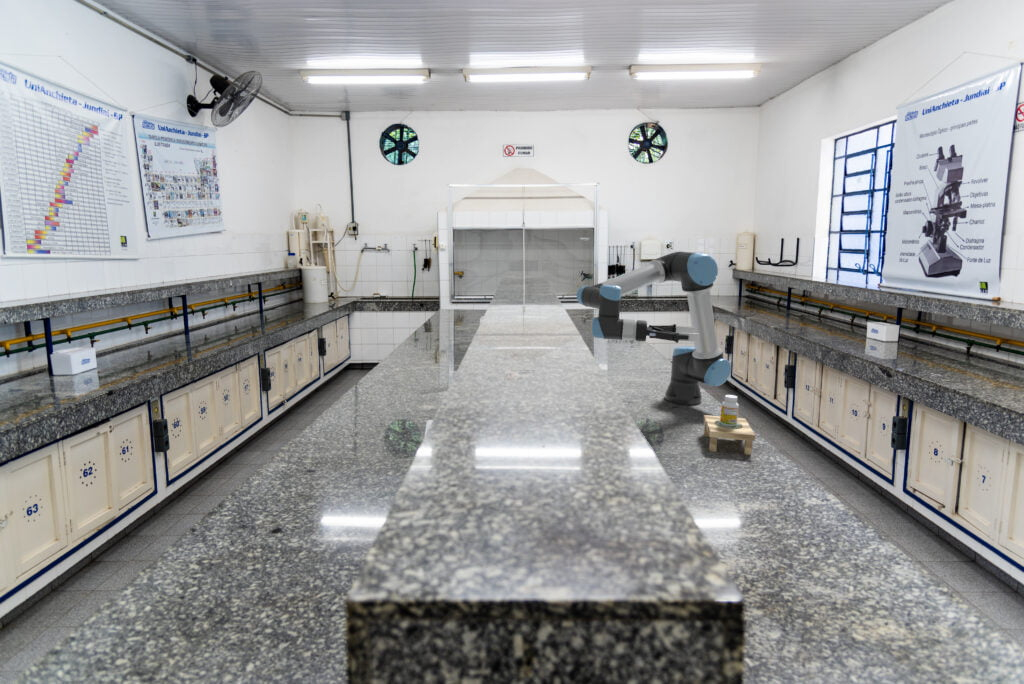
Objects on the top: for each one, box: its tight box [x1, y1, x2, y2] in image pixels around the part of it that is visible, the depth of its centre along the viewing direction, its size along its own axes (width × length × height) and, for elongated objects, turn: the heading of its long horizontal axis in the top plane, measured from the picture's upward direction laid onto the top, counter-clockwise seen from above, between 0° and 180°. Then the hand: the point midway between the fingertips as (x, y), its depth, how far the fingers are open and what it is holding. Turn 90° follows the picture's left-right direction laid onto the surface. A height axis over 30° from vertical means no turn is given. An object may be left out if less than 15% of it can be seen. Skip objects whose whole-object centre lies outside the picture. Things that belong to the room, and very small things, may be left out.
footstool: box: [703, 414, 756, 456], centre depth 209 cm, size 18×14×7 cm
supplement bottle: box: [720, 394, 740, 426], centre depth 208 cm, size 5×5×10 cm
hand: (696, 334), depth 218 cm, fingers open, 13 cm apart
